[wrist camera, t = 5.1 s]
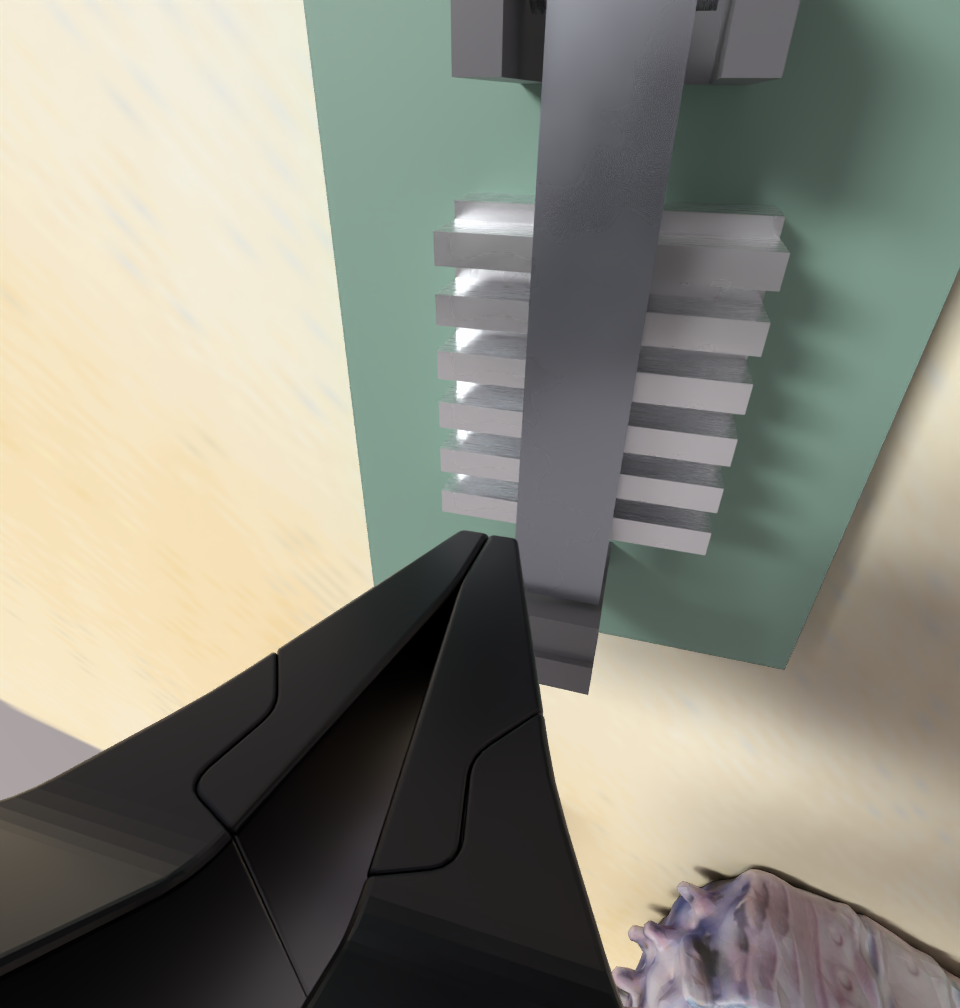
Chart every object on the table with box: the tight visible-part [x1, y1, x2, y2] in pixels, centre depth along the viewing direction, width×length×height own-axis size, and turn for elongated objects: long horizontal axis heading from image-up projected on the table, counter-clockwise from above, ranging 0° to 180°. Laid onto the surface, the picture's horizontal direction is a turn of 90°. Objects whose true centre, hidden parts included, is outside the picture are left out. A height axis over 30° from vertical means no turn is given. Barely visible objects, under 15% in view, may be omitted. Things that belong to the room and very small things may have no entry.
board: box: [303, 0, 960, 670], centre depth 17 cm, size 15×20×1 cm
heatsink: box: [433, 192, 790, 555], centre depth 15 cm, size 7×8×3 cm
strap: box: [515, 0, 718, 605], centre depth 12 cm, size 12×3×1 cm, turn 0°
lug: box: [525, 542, 612, 695], centre depth 17 cm, size 2×2×5 cm
